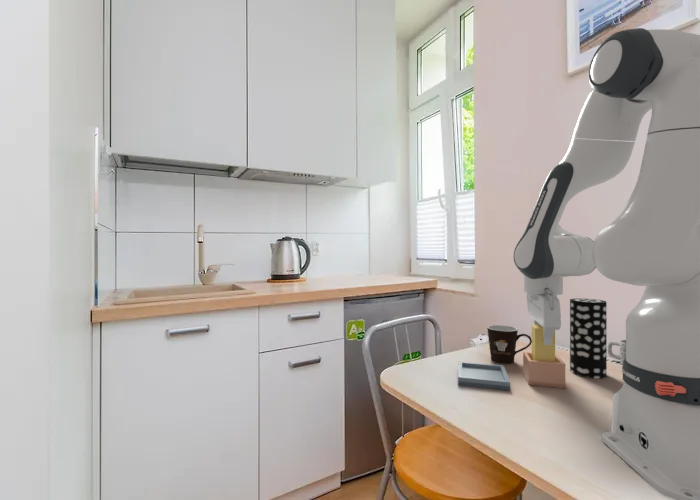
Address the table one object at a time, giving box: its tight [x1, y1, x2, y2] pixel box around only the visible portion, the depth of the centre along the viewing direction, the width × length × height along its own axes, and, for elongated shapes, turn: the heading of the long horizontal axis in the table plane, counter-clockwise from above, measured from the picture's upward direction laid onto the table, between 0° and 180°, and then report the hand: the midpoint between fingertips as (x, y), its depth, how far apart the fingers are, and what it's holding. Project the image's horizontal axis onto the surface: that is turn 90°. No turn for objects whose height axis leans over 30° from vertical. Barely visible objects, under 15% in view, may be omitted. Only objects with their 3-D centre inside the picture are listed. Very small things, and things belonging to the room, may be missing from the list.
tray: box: [457, 361, 511, 392], centre depth 93 cm, size 13×12×2 cm
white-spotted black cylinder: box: [569, 297, 608, 379], centre depth 96 cm, size 8×8×20 cm
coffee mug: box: [486, 324, 532, 365], centre depth 106 cm, size 12×9×10 cm
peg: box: [531, 324, 556, 362], centre depth 91 cm, size 4×4×13 cm
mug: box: [607, 339, 626, 366], centre depth 105 cm, size 10×7×7 cm, turn 32°
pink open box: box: [522, 351, 566, 389], centre depth 91 cm, size 8×8×6 cm
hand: (543, 339), depth 91 cm, fingers open, 8 cm apart
